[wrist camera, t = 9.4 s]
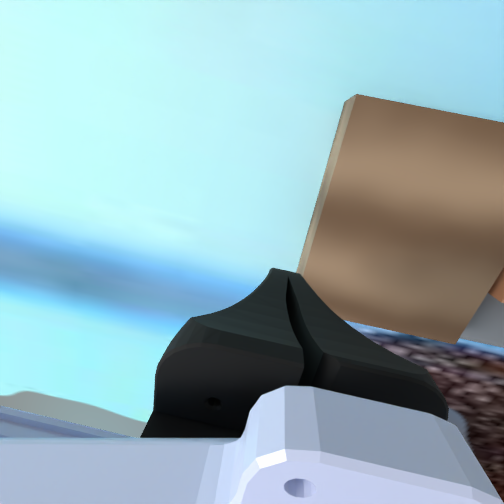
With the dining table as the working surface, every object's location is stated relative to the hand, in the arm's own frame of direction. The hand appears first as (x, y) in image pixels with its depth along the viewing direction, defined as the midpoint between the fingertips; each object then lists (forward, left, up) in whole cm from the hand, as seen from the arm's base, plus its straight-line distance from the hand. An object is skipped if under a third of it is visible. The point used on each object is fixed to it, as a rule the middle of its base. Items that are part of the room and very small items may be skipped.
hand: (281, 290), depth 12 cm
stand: (+2, -8, -9) cm, 13 cm away
